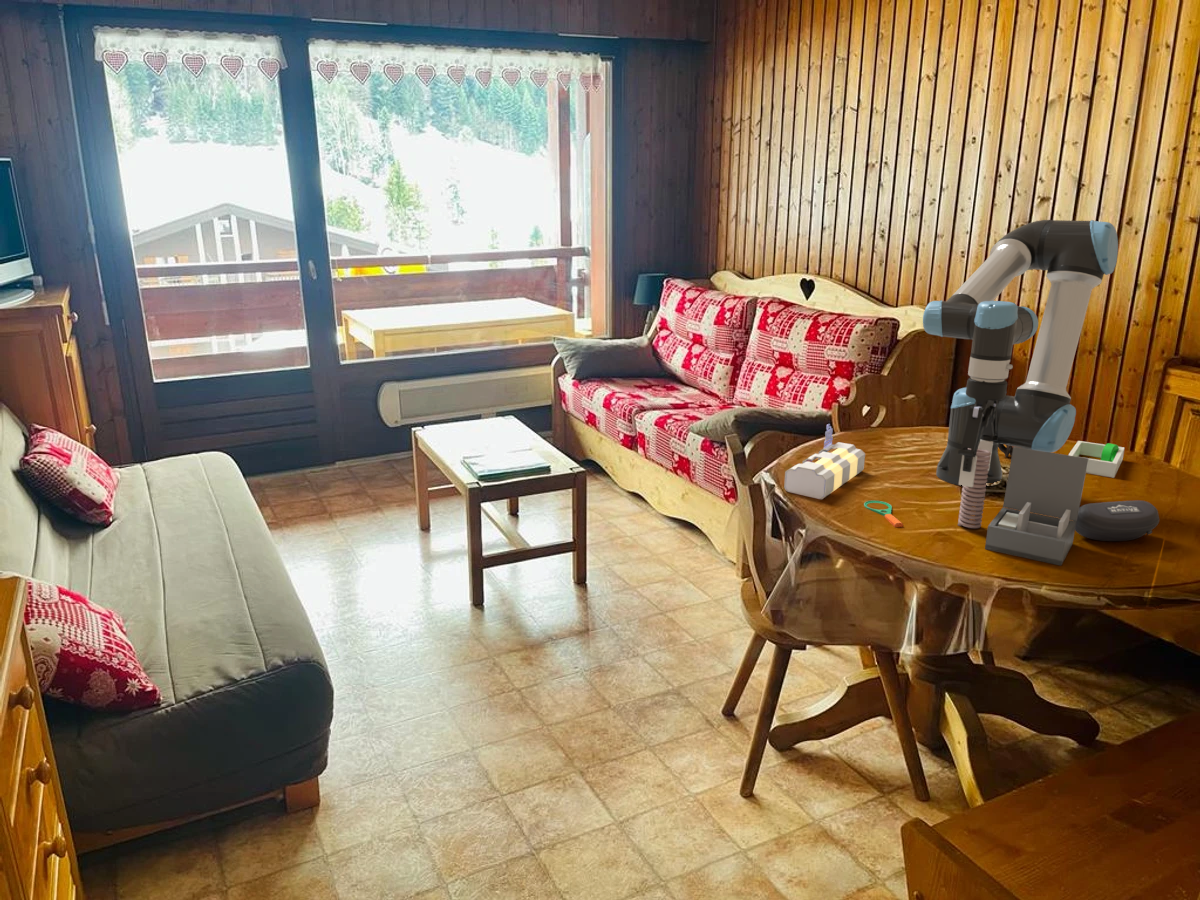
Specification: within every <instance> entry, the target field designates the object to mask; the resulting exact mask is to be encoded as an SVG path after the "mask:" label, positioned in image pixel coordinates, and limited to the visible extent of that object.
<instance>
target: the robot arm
mask: <svg viewBox="0 0 1200 900" xmlns="http://www.w3.org/2000/svg"><path fill="white" fill-rule="evenodd" d="M1118 241H1119V239H1118V233H1117V229H1116V227H1115V226H1114V225H1113V224H1112V223H1110V222H1109V221H1097V220H1093V219H1091V220H1067V219H1065V220H1058V219H1041V220H1040V219H1039V220H1036V221H1032V222H1029V223H1027V224H1023V225H1021V226H1019V227H1017V228H1015V229H1013V230H1012V231H1010V232H1008V233H1006V234H1005V235H1004V236H1002V237H1001V238H1000V239H999V240H998V241H996V243H995V244H994V245H993V246H992V247H991V249H990V252H989V256H988V257H987V258H986V260H984V261H983V263H982V264H981V265H979V267H977V269H976V270H975V271H974V272H973V273H972V274H971V275H970V277H968V278H967V279H966V281H965V282H963V284H962V285H960V287H959V288H958V289H957V290H956V291H955V292H954V293H953V294H952V295H951V296H950V297H949V298H948V299H947V300H942V299H941V300H932V301H930V302H928V303H927V305H926V307H925V308H924V311H923V315H922V328H923V330H924V331H925V332H926V333H927V334H928V335H932V336H938V337H941V338H943V337H945V338H955V339H963V340H971V341H972V342H971V352H970V357H969V363H968V369H967V370H968V371H967V372H968V373H967V375H968V376H969V377H968V379H967V381H966V386H965V387H962V388H959V389H957V390H956V391H955V392H954V393H953V396H952V401H951V402H952V403H951V405H950V415H949V424H948V435H947V444H946V447H945V449H944V451H943V453H942V454H941V457H940V459H939V461H938V463H937V467H936V472H935V474H936V476H937V478H938V479H940V480H942V481H944V482H946V483H949V484H952V485H956V486H961V485H962V486H961V487H963V486H967V487H973V484H974V477H975V469H976V462H977V456H976V453H977V449H982V450H987V451H990V452H991V455H990V456H989V457H990V460H988V461H989V462H990V463H989V465H988V466H989V469H987V470H988V474H987V475H988V478H986V479H987V482H986V483H994V482H997V481H1000V480H1001V479H1003V470H1002V465H1001V460H1000V455H999V452H998V451H999V448H998V444H999V443H1001V444H1004V446H1006V445H1010V446H1016V447H1021V448H1026V449H1031V450H1038V451H1044V452H1050V453H1055V452H1057V451H1058V450H1060V449H1062V447H1063V446H1064V445H1065V443H1066V442H1067V440H1068V439H1069V436H1070V435H1071V432H1072V431H1073V427H1074V424H1075V422H1076V415H1077V410H1076V407H1075V406H1074V405H1072V404H1070V403H1071V401H1072V397H1071V396H1070V394H1069V393H1068V391H1067V386H1068V382H1069V377H1070V375H1071V371H1072V368H1073V362H1074V359H1075V355H1076V351H1077V348H1078V344H1079V342H1080V341H1079V340H1080V336H1081V333H1082V329H1083V325H1084V322H1085V318H1086V315H1087V310H1088V307H1089V302H1090V299H1091V295H1092V291H1093V289H1094V288H1096V287H1097V286H1100V285H1101V284H1102V282H1103V278H1104V275H1106V276H1107V275H1111V274H1112V273H1114V271H1115V268H1116V265H1117V260H1118V253H1119V248H1118V247H1119V242H1118ZM1028 270H1029V271H1030V270H1039V271H1047V272H1046V275H1045V277H1046V278H1047V279H1048V281H1049V282H1050V288H1049V291H1048V295H1047V299H1046V303H1045V307H1044V310H1043V311H1044V312H1043V314H1042V319H1041V322H1040V326H1039V320H1038V316H1037V314H1036V313H1035V311H1033V310H1032V309H1030V308H1029V307H1026V306H1022V305H1021V306H1018V305H1017V303H1015V302H1012V301H1004V300H1003V301H1001V300H995V299H996V298H998V296H1000V294H1001V293H1002V292H1003V291H1004V290H1005V289H1006V287H1007V286H1008V285H1009V284H1011V282H1012V281H1013V280H1014V279H1015V277H1018V276H1020V275H1021V276H1022V275H1023V274H1025V273H1026V272H1027V271H1028ZM1038 327H1039V331H1038ZM1037 331H1038V334H1037V337H1036V343H1035V346H1034V349H1033V354H1032V358H1031V361H1030V365H1029V370H1028V372H1027V377H1026V380H1025V382H1024V383H1023V384H1021V385H1020V386H1018V387H1017V389H1016V391H1015V395H1014V396H1013V395H1007V388H1008V382H1007V379H1008V378H1009V373H1010V372H1009V371H1010V370H1012V369H1013V364H1010V363H1011V359H1012V355H1013V346H1014V345H1019V344H1022V343H1024V342H1025V341H1028V340H1029V339H1031V338H1032V337H1033V336H1034V335H1035V334H1036V332H1037ZM968 448H969V449H968ZM970 449H971V450H970ZM1001 481H1002V480H1001Z"/></svg>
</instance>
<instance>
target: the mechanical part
mask: <svg viewBox="0 0 1200 900" xmlns="http://www.w3.org/2000/svg"><path fill="white" fill-rule="evenodd" d="M1104 445H1105V447H1104V449H1103V451H1102V455H1101V458H1100V460H1102V461H1109V462H1113V460H1114V458H1115V456H1116V454H1117V452H1118V447H1119V445H1118V444H1115V443H1110V442H1107V443H1106V444H1104Z"/></svg>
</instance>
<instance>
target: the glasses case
mask: <svg viewBox="0 0 1200 900" xmlns="http://www.w3.org/2000/svg"><path fill="white" fill-rule="evenodd" d="M1159 523H1160V517H1159V512H1158V509H1157V508H1156V507H1155V506H1154V505H1153V504H1152V503H1151V502H1149V501H1147V500H1146V501H1145V500H1139V499H1136V500H1135V499H1134V500H1122V501H1121V500H1120V501H1104V502H1095V503H1085V504H1083V505H1081V506H1080V507H1079V512H1078V517H1077V521H1076V526H1075V533H1077V534H1079V535H1080V536H1082V537H1085V538H1086V539H1090V540H1095V541H1102V542H1126V541H1132V540H1136V539H1140V538H1142V537H1143V536H1145V535H1146V536H1148V535H1151V534H1152V533H1153V529H1155V528H1156V527H1157V526H1158V524H1159Z"/></svg>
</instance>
